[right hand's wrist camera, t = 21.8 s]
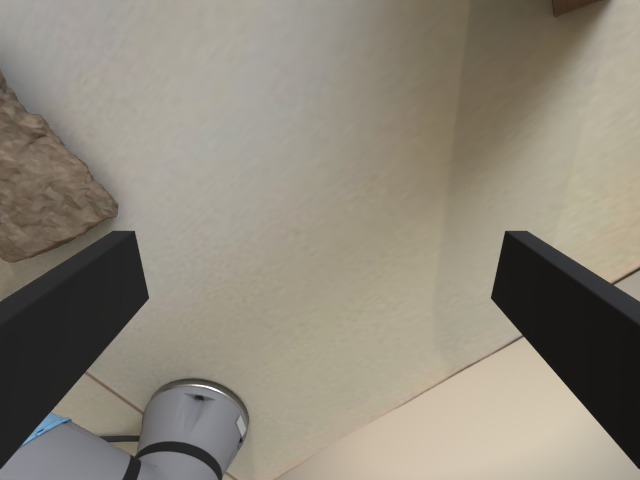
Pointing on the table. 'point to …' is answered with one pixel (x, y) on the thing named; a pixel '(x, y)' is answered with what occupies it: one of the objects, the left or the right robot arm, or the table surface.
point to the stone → (42, 186)
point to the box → (569, 5)
